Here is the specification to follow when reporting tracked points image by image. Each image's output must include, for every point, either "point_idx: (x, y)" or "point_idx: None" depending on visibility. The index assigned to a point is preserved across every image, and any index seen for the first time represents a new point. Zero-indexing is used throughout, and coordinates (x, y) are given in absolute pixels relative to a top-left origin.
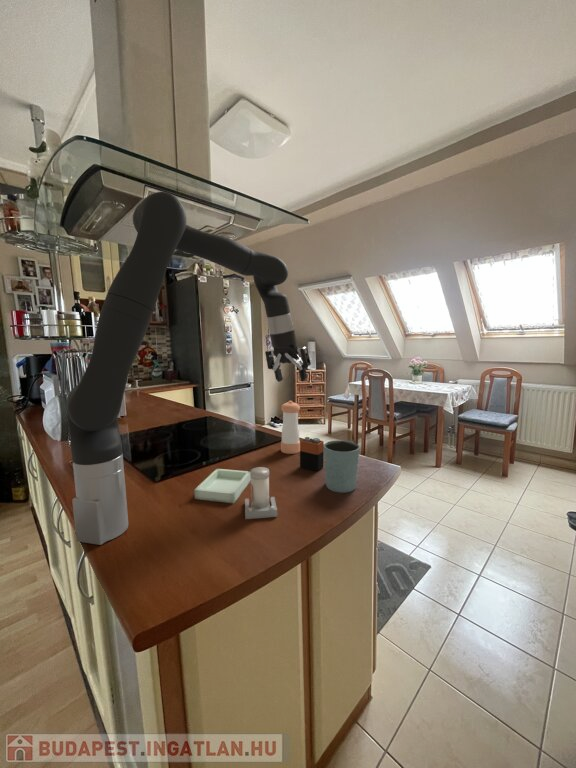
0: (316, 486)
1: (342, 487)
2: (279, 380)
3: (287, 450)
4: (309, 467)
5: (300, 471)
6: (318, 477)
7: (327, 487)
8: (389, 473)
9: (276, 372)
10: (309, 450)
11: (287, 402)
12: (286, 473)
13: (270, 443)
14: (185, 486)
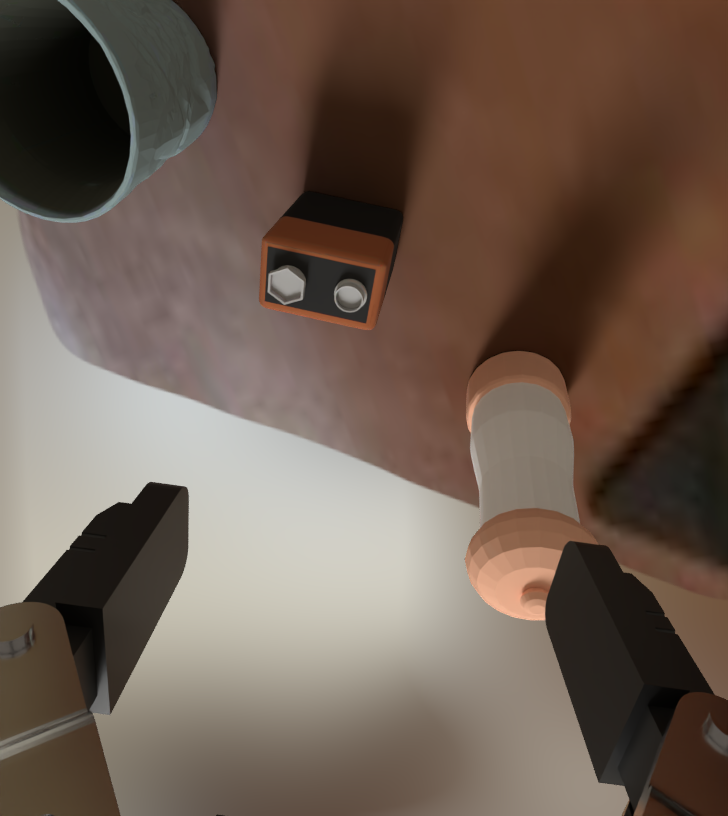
0: (241, 7)
1: None
2: (574, 555)
3: (519, 359)
4: (345, 201)
5: (382, 160)
6: (275, 124)
7: (188, 16)
8: (47, 283)
9: (654, 661)
10: (327, 230)
11: None
12: (443, 104)
13: (646, 447)
14: None
